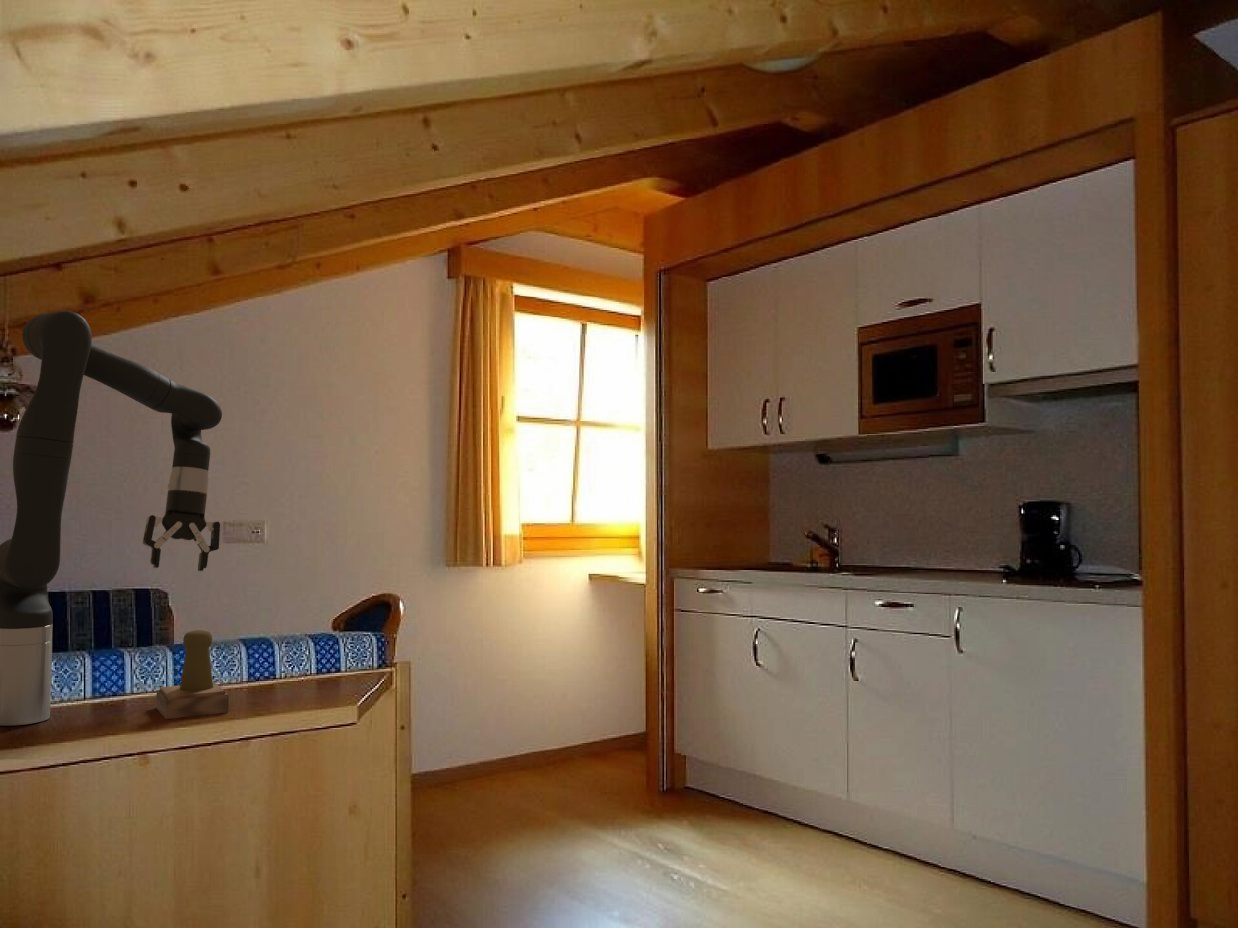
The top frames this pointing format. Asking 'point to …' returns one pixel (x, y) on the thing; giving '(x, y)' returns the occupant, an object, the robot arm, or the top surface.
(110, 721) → the top surface
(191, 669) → the cork
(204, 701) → the plinth
